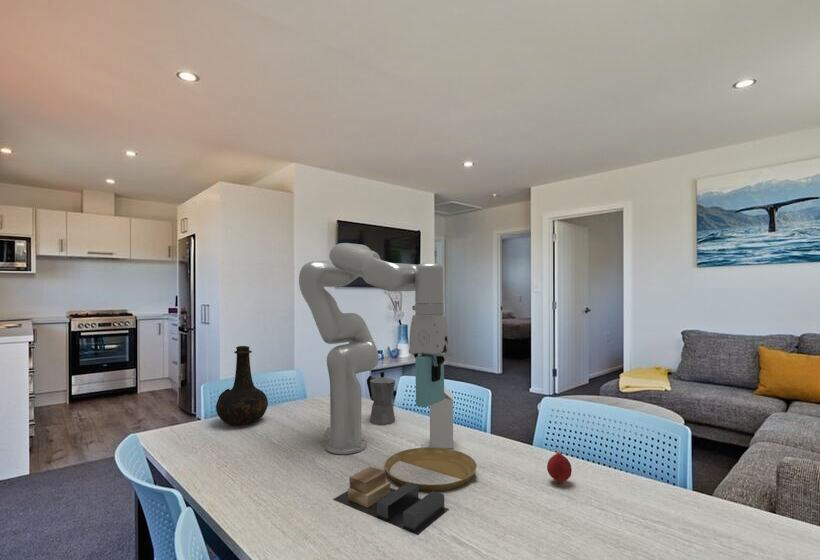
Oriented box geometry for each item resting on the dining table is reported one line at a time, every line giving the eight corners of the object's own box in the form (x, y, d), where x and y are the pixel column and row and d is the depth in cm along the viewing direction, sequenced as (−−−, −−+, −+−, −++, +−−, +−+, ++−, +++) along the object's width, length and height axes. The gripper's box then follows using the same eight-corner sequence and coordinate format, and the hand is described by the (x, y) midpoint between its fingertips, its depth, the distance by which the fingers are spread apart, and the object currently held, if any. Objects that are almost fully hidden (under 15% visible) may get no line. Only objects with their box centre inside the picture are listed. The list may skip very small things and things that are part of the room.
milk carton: (453, 440, 138) (452, 381, 138) (453, 449, 131) (452, 386, 131) (431, 440, 138) (430, 381, 139) (429, 448, 131) (429, 386, 132)
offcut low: (348, 499, 98) (348, 488, 98) (371, 486, 105) (371, 475, 105) (367, 507, 95) (367, 496, 95) (390, 493, 101) (390, 482, 101)
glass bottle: (233, 414, 167) (232, 342, 168) (276, 416, 165) (276, 343, 165) (205, 429, 150) (204, 349, 150) (253, 431, 147) (252, 350, 148)
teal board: (415, 405, 111) (415, 357, 111) (434, 398, 118) (434, 352, 118) (425, 407, 109) (424, 358, 109) (444, 399, 116) (443, 353, 116)
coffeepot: (404, 422, 156) (403, 372, 157) (384, 428, 150) (384, 376, 150) (377, 413, 167) (376, 367, 168) (357, 418, 161) (357, 370, 161)
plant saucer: (373, 465, 120) (373, 453, 120) (451, 452, 129) (451, 441, 129) (402, 506, 98) (402, 491, 98) (494, 488, 106) (494, 474, 106)
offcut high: (349, 487, 99) (349, 476, 99) (369, 476, 104) (369, 466, 104) (365, 493, 96) (365, 482, 96) (385, 482, 101) (385, 471, 101)
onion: (571, 479, 110) (571, 448, 110) (572, 490, 104) (571, 457, 104) (547, 476, 112) (547, 445, 112) (547, 486, 106) (546, 454, 106)
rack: (332, 503, 99) (332, 486, 99) (367, 483, 108) (367, 467, 108) (417, 540, 84) (417, 519, 84) (449, 513, 94) (449, 495, 94)
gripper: (396, 310, 115) (396, 378, 115) (448, 311, 106) (449, 386, 105) (412, 308, 121) (413, 373, 121) (463, 310, 112) (464, 381, 111)
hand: (430, 379), depth 113 cm, fingers closed on teal board, 3 cm apart
